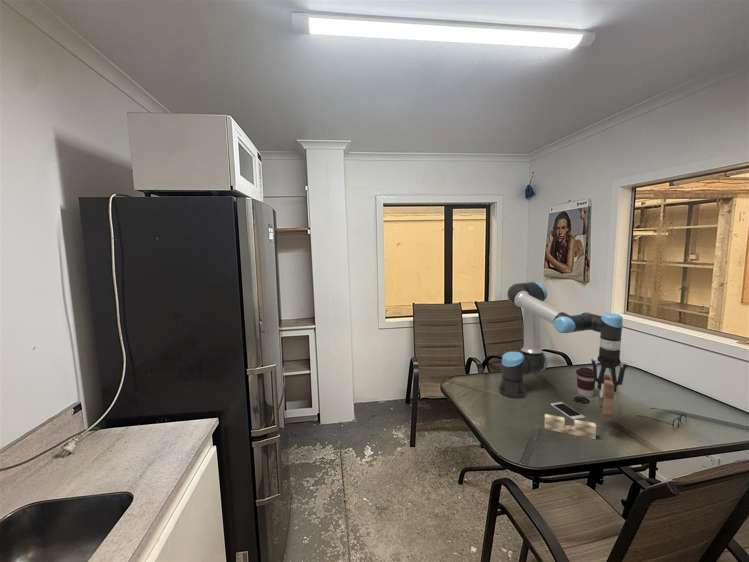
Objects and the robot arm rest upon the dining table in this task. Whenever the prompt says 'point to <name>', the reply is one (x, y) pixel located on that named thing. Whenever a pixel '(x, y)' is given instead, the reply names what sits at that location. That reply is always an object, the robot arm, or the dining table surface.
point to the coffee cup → (585, 381)
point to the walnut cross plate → (607, 397)
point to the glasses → (673, 420)
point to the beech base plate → (578, 429)
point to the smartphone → (567, 410)
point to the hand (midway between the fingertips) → (606, 396)
